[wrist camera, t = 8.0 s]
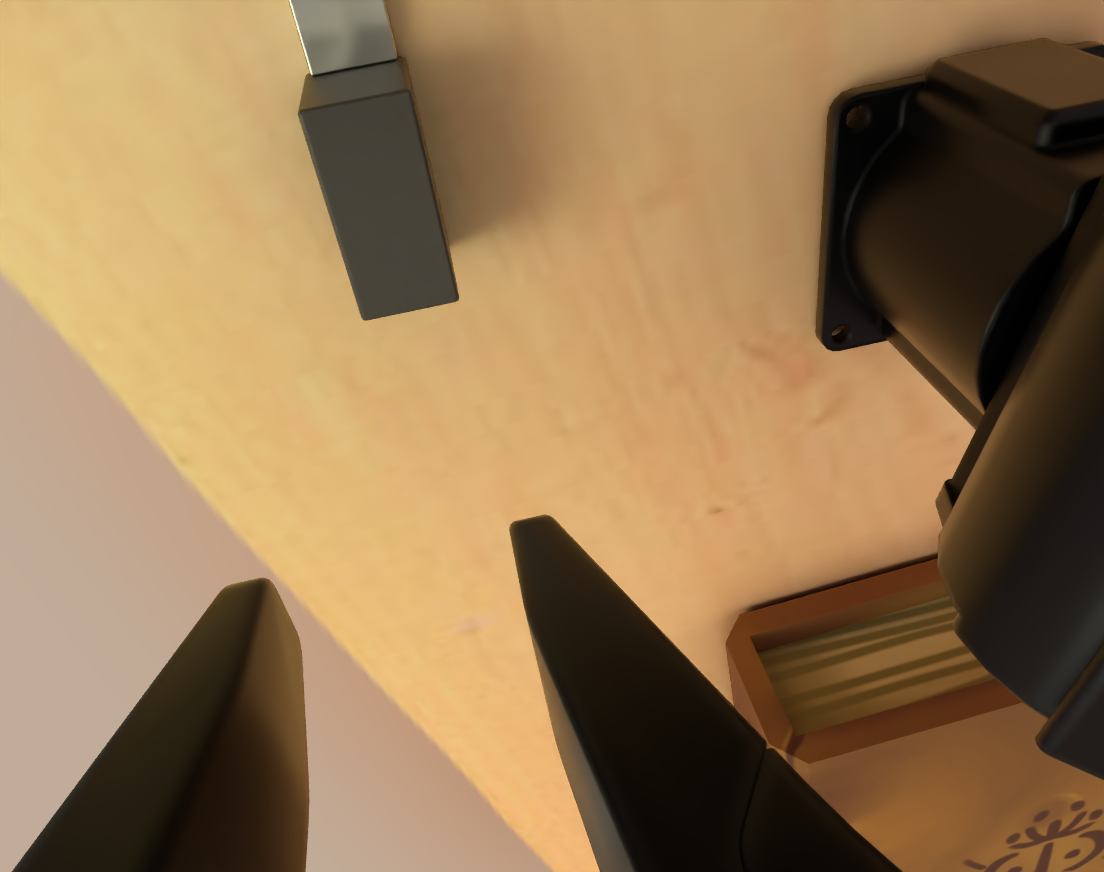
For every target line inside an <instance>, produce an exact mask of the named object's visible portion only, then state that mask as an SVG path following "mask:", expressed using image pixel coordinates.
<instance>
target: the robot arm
mask: <svg viewBox="0 0 1104 872" xmlns="http://www.w3.org/2000/svg"><path fill="white" fill-rule="evenodd" d="M856 106H860V113H859V116H858V117H857V119H856V120H855V121H854V122H852V123H850V124H847V123H846V118H847V115H848V113H849V112H850V111H851V109H852V108H854V107H856ZM840 326H843V328H842V330H841V331H840V332H839V333H838V334H836V335H832V333H833V331H834V330H835V329H836V328H837V327H840ZM816 336H817V338H818V339H819V340H820V341H821V343H822V344H823V345H824V346H825V347H826V348H827V349H828V350H831V351H841V350H846V349H850V348H855V347H860V346H864V345H869V344H873V343H878V342H882V341H887V340H888V341H889V342H890V343H891V344H892V345H893V346H894V347H895V348H896V349H897V350H898V351H899V352H900V353H901V354H902V355H903V356H904V357H905V358H906V359H907V360H908V361H909V362H910V363H911V364H912V365H913V366H914V367H915V368H916V369H917V370H918V371H919V372H920V373H921V375H922V376H923V377H924V378H925V379H926V380H927V381H928V382H929V383H930V384H931V385H932V386H933V387H934V388H935V389H936V390H937V391H938V392H939V393H940V394H941V395H942V396H943V397H944V398H945V399H946V400H947V401H948V402H949V403H950V404H951V405H952V406H953V407H954V408H955V409H956V410H957V411H958V412H959V413H960V414H961V415H962V416H963V417H964V418H965V419H966V420H967V421H968V422H969V424H970V425H971V426H972V427H973V428H974V429H975V430H976V432H975V434H974V436H973V438H972V440H971V442H970V444H969V446H968V448H967V450H966V452H965V454H964V456H963V458H962V460H961V462H960V464H959V466H958V468H957V470H956V472H955V474H954V476H953V478H952V479H948V480H946V481H945V482H944V485H943V487H942V489H941V491H940V493H939V495H938V497H937V499H936V507H937V510H938V513H939V516H940V520H941V523H942V526H943V529H942V531H941V533H940V535H939V542H938V564H937V568H938V570H939V573H940V575H941V577H942V580H943V582H944V584H945V587H946V589H947V592H948V594H949V596H950V599H951V601H952V603H953V606H954V608H955V609H956V610H957V612H958V614H957V616H956V617H955V619H954V621H953V629H954V631H955V633H956V635H957V636H958V638H959V639H960V640H961V641H962V643H963V644H964V645H965V646H966V647H967V648H968V650H969V651H970V652H971V653H972V654H973V655H974V657H975V658H976V659H977V660H978V661H979V662H980V664H981V665H982V666H983V667H984V668H985V669H986V670H987V672H988V673H989V674H990V675H992V676H993V677H994V678H995V679H996V680H997V681H998V682H1000V683H1001V684H1002V685H1003V686H1004V687H1005V688H1007V689H1008V690H1009V691H1010V692H1011V693H1012V694H1014V695H1015V696H1016V697H1017V698H1018V699H1019V700H1020V701H1022V702H1023V703H1024V704H1025V705H1027V706H1028V707H1030V708H1031V709H1033V710H1034V711H1036V712H1038V713H1039V714H1041V715H1042V716H1044V717H1045V718H1047V719H1048V720H1047V722H1046V723H1045V725H1044V726H1043V727H1042V729H1041V730H1040V731H1039V733H1038V734H1037V736H1036V738H1035V740H1036V744H1037V746H1038V747H1039V749H1040V750H1042V751H1043V752H1044V753H1045V754H1047V755H1049V756H1051V757H1053V758H1055V759H1057V760H1059V761H1062V762H1064V763H1066V764H1068V765H1071V766H1073V767H1075V768H1077V769H1080V770H1082V771H1084V772H1086V773H1089V774H1091V775H1093V776H1095V777H1098V778H1100V779H1102V780H1104V44H1102V43H1099V42H1096V41H1088V42H1083V43H1078V44H1073V45H1068V46H1067V45H1064V44H1061V43H1058V42H1055V41H1052V40H1049V39H1046V38H1040V39H1035V40H1030V41H1025V42H1020V43H1015V44H1010V45H1005V46H1000V47H995V48H990V49H985V50H980V51H975V52H970V53H965V54H960V55H955V56H950V57H945V58H940V59H938V60H937V61H936V62H935V63H933V64H932V65H931V66H930V67H929V68H928V69H927V70H926V74H924V75H919V76H914V77H909V78H904V79H899V80H894V81H889V82H884V83H879V84H874V85H869V86H864V87H859V88H854V89H850V90H848V91H845V92H843V93H841V94H840V95H839V96H838V97H837V98H836V99H835V100H834V101H833V103H832V105H831V106H830V108H829V112H828V116H827V133H826V152H825V170H824V188H823V206H822V224H821V243H820V261H819V279H818V297H817V316H816ZM509 530H510V536H511V541H512V547H513V552H514V557H515V562H516V567H517V572H518V578H519V583H520V588H521V593H522V598H523V603H524V608H525V612H526V616H527V620H528V625H529V629H530V633H531V638H532V642H533V646H534V651H535V655H536V659H537V663H538V668H539V672H540V676H541V681H542V685H543V689H544V694H545V698H546V702H547V706H548V711H549V715H550V719H551V723H552V727H553V732H554V736H555V740H556V743H557V746H558V750H559V753H560V756H561V759H562V762H563V766H564V768H565V771H566V774H567V777H568V780H569V783H570V786H571V789H572V792H573V795H574V797H575V800H576V803H577V806H578V809H579V812H580V815H581V818H582V821H583V824H584V826H585V829H586V832H587V835H588V838H589V841H590V844H591V847H592V850H593V853H594V855H595V858H596V861H597V864H598V867H599V870H600V872H903V871H901V870H900V869H899V868H898V867H897V866H896V865H895V864H894V863H892V862H891V861H890V860H889V859H888V858H887V857H886V856H884V855H883V854H882V853H881V852H880V851H879V850H878V849H876V848H875V847H874V846H873V845H872V844H871V843H870V842H869V841H867V840H866V839H865V838H864V837H863V836H862V835H861V834H859V833H858V832H857V831H856V830H855V829H854V828H853V827H852V826H851V825H850V824H849V823H848V822H847V821H846V820H845V819H844V818H843V817H842V816H841V815H840V814H839V813H838V812H837V811H836V810H835V809H833V808H832V807H831V806H830V805H829V804H828V803H827V802H826V801H825V800H824V799H823V798H822V797H821V796H820V795H819V794H818V793H817V792H816V791H815V790H814V789H813V788H812V787H811V786H810V785H809V784H808V783H807V782H806V781H805V780H804V779H803V778H802V777H801V776H800V775H799V774H798V773H797V772H796V771H795V770H794V768H793V767H792V766H791V765H790V764H789V763H788V762H787V761H786V760H785V759H784V758H783V757H782V756H781V755H780V754H779V753H778V752H777V751H776V750H775V749H774V748H771V747H770V748H767V741H766V740H765V739H764V738H763V737H762V736H761V735H760V734H759V732H758V731H757V730H756V729H755V728H754V727H753V726H752V725H751V724H750V723H749V722H748V721H747V720H746V719H745V718H744V717H743V716H742V715H741V714H740V713H739V712H738V711H737V709H736V708H735V707H734V706H733V705H732V704H731V703H730V702H729V701H728V700H727V699H726V698H725V697H724V696H723V695H722V694H721V693H720V692H719V691H718V690H717V689H716V688H715V687H714V685H713V684H712V683H711V682H710V681H709V680H708V679H707V678H706V677H705V676H704V675H703V674H702V673H701V672H700V671H699V670H698V669H697V668H696V667H695V666H694V665H693V664H692V662H691V661H690V660H689V659H688V658H687V657H686V656H685V655H684V654H683V653H682V652H681V651H680V650H679V649H678V648H677V647H676V646H675V645H674V644H673V643H672V642H671V641H670V639H669V638H668V637H667V636H666V635H665V634H664V633H663V632H662V631H661V630H660V629H659V628H658V627H657V626H656V625H655V624H654V623H653V622H652V621H651V620H650V619H649V618H648V616H647V615H646V614H645V613H644V612H643V611H642V610H641V609H640V608H639V607H638V606H637V605H636V604H635V603H634V602H633V601H632V600H631V599H630V598H629V597H628V596H627V595H626V593H625V592H624V591H623V590H622V589H621V588H620V587H619V586H618V585H617V584H616V583H615V582H614V581H613V580H612V579H611V578H610V577H609V576H608V575H607V574H606V573H605V572H604V570H603V569H602V568H601V567H600V566H599V565H598V564H597V563H596V562H595V561H594V560H593V559H592V558H591V557H590V556H589V555H588V554H587V553H586V552H585V551H584V550H583V549H582V547H581V546H580V545H579V544H578V543H577V542H576V541H575V540H574V539H573V538H572V537H571V536H570V535H569V534H568V533H567V532H566V531H565V530H564V529H563V528H562V527H561V526H560V524H559V523H558V522H557V521H556V520H555V519H554V518H552V517H551V516H549V515H541V516H536V517H532V518H527V519H523V520H518V521H515V522H513V523H512V524H511V525H510V528H509ZM306 740H307V738H306V719H305V702H304V682H303V664H302V650H301V644H300V640H299V636H298V634H297V631H296V629H295V626H294V625H293V623H292V620H291V618H290V616H289V614H288V612H287V610H286V608H285V606H284V604H283V602H282V600H281V598H280V596H279V594H278V591H277V589H276V588H275V586H274V584H273V583H272V582H271V581H270V580H269V579H266V578H258V579H253V580H249V581H245V582H240V583H236V584H231V585H229V586H227V587H225V588H224V589H223V590H222V591H221V592H220V593H219V594H218V595H217V597H216V598H215V599H214V601H213V602H212V604H211V605H210V606H209V607H208V609H207V610H206V612H205V613H204V614H203V616H202V617H201V618H200V620H199V621H198V622H197V624H196V625H195V626H194V628H193V629H192V630H191V632H190V633H189V634H188V636H187V637H186V638H185V640H184V641H183V642H182V644H181V645H180V646H179V648H178V649H177V650H176V652H175V653H174V654H173V656H172V657H171V659H170V660H169V661H168V663H167V664H166V665H165V667H164V668H163V669H162V671H161V672H160V673H159V675H158V676H157V677H156V679H155V680H154V681H153V683H152V684H151V686H150V687H149V688H148V689H147V691H146V692H145V693H144V695H143V696H142V698H141V699H140V700H139V702H138V703H137V704H136V706H135V707H134V708H133V710H132V711H131V712H130V714H129V715H128V716H127V718H126V719H125V720H124V722H123V723H122V724H121V726H120V727H119V728H118V730H117V731H116V732H115V734H114V735H113V736H112V738H111V739H110V741H109V742H108V743H107V745H106V746H105V747H104V749H103V750H102V751H101V753H100V754H99V755H98V757H97V758H96V759H95V761H94V762H93V763H92V765H91V766H90V768H89V769H88V770H87V772H86V773H85V774H84V775H83V777H82V778H81V780H80V781H79V782H78V784H77V785H76V786H75V788H74V789H73V790H72V792H71V793H70V794H69V796H68V797H67V798H66V800H65V801H64V802H63V804H62V805H61V806H60V808H59V809H58V810H57V812H56V813H55V814H54V816H53V817H52V818H51V820H50V821H49V823H48V824H47V825H46V827H45V828H44V829H43V831H42V832H41V833H40V835H39V836H38V837H37V839H36V840H35V841H34V843H33V844H32V845H31V847H30V848H29V850H28V851H27V852H26V853H25V855H24V856H23V857H22V859H21V861H20V862H19V863H18V864H17V866H16V867H15V868H14V870H13V871H12V872H305V870H306V854H307V839H308V823H309V776H308V757H307V741H306Z"/></svg>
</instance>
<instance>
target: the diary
mask: <svg viewBox="0 0 1104 872" xmlns="http://www.w3.org/2000/svg"><path fill="white" fill-rule="evenodd" d="M937 564H938V558H937V559H933V560H930V561H926V562H923V563H919V564H916V565H912V566H909V567H905V568H902V569H898V570H895V571H891V572H888V573H884V574H881V575H877V576H874V577H870V578H867V579H863V580H860V581H856V582H853V583H849V584H846V585H842V586H839V587H835V588H832V589H828V590H825V591H821V592H818V593H814V594H811V595H807V596H804V597H800V598H797V599H793V600H790V601H786V602H783V603H779V604H776V605H772V606H769V607H765V608H762V609H758V610H755V611H751V612H748V613H744V614H741V615H739V617H738V619H737V621H736V623H735V625H734V627H733V629H732V631H731V633H730V635H729V637H728V639H727V641H726V650H727V657H728V665H729V672H730V679H731V687H732V694H733V701H734V707H735V708H736V709H737V711H738V712H739V713H740V714H741V715H742V716H743V717H744V718H745V719H746V720H747V721H748V722H749V723H750V724H751V725H752V726H753V727H754V728H755V729H756V730H757V731H758V732H759V734H760V735H761V736H762V737H763V738H764V739H765V740H766V741H767V748H770V747H771V748H774V749H775V750H776V751H777V752H778V753H779V754H780V755H781V756H782V757H783V758H784V759H785V760H786V761H787V762H788V763H789V764H790V765H791V766H792V767H793V768H794V770H795V771H796V772H797V773H798V774H799V775H800V776H801V777H802V778H803V779H804V780H805V781H806V782H807V783H808V784H809V785H810V786H811V787H812V788H813V789H814V790H815V791H816V792H817V793H818V794H819V795H820V796H821V797H822V798H823V799H824V800H825V801H826V802H827V803H828V804H829V805H830V806H831V807H832V808H833V809H835V810H836V811H837V812H838V813H839V814H840V815H841V816H842V817H843V818H844V819H845V820H846V821H847V822H848V823H849V824H850V825H851V826H852V827H853V828H854V829H855V830H856V831H857V832H858V833H859V834H861V835H862V836H863V837H864V838H865V839H866V840H867V841H869V842H870V843H871V844H872V845H873V846H874V847H875V848H876V849H878V850H879V851H880V852H881V853H882V854H883V855H884V856H886V857H887V858H888V859H889V860H890V861H891V862H892V863H894V864H895V865H896V866H897V867H898V868H899V869H900V870H901V871H903V872H1104V780H1102V779H1100V778H1098V777H1095V776H1093V775H1091V774H1089V773H1086V772H1084V771H1082V770H1080V769H1077V768H1075V767H1073V766H1071V765H1068V764H1066V763H1064V762H1062V761H1059V760H1057V759H1055V758H1053V757H1051V756H1049V755H1047V754H1045V753H1044V752H1043V751H1042V750H1040V749H1039V747H1038V746H1037V744H1036V740H1035V738H1036V736H1037V734H1038V733H1039V731H1040V730H1041V729H1042V727H1043V726H1044V725H1045V723H1046V722H1047V720H1048V719H1047V718H1045V717H1044V716H1042V715H1041V714H1039V713H1038V712H1036V711H1034V710H1033V709H1031V708H1030V707H1028V706H1027V705H1025V704H1024V703H1023V702H1022V701H1020V700H1019V699H1018V698H1017V697H1016V696H1015V695H1014V694H1012V693H1011V692H1010V691H1009V690H1008V689H1007V688H1005V687H1004V686H1003V685H1002V684H1001V683H1000V682H998V681H997V680H996V679H995V678H994V677H993V676H992V675H990V674H989V673H988V672H987V670H986V669H985V668H984V667H983V666H982V665H981V664H980V662H979V661H978V660H977V659H976V658H975V657H974V655H973V654H972V653H971V652H970V651H969V650H968V648H967V647H966V646H965V645H964V644H963V643H962V641H961V640H960V639H959V638H958V636H957V635H956V633H955V631H954V629H953V621H954V619H955V617H956V616H957V614H958V612H957V610H956V609H955V608H954V606H953V603H952V601H951V599H950V596H949V594H948V592H947V589H946V587H945V584H944V582H943V580H942V577H941V575H940V573H939V570H938V568H937Z"/></svg>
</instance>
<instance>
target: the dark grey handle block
mask: <svg viewBox="0 0 1104 872" xmlns="http://www.w3.org/2000/svg"><path fill="white" fill-rule="evenodd" d="M289 4H290V7H291V10H292V14H293V17H294V20H295V24H296V27H297V31H298V34H299V37H300V41H301V44H302V47H303V51H304V54H305V58H306V61H307V64H308V68H309V71H310V74H308V75H306V77H305V82H304V87H303V92H302V96H301V101H300V106H299V111H298V116H299V119H300V123H301V126H302V129H303V132H304V135H305V139H306V142H307V145H308V148H309V151H310V155H311V158H312V161H313V164H314V167H315V170H316V174H317V177H318V180H319V183H320V186H321V190H322V193H323V196H324V199H325V202H326V206H327V209H328V212H329V215H330V218H331V222H332V225H333V228H334V231H335V234H336V238H337V241H338V244H339V247H340V250H341V253H342V257H343V260H344V263H345V266H346V269H347V273H348V276H349V279H350V282H351V285H352V289H353V292H354V295H355V298H356V301H357V305H358V308H359V311H360V314H361V317H362V319H363V320H366V321H367V320H371V319H376V318H381V317H386V316H390V315H395V314H400V313H405V312H409V311H414V310H419V309H424V308H429V307H433V306H438V305H443V304H448V303H452V302H456V301H458V300H459V294H458V289H457V283H456V278H455V273H454V268H453V263H452V258H451V253H450V248H449V243H448V239H447V235H446V230H445V226H444V222H443V217H442V213H441V208H440V204H439V200H438V195H437V191H436V187H435V182H434V178H433V174H432V169H431V165H430V160H429V156H428V152H427V147H426V143H425V139H424V134H423V130H422V125H421V121H420V117H419V112H418V108H417V104H416V99H415V95H414V91H413V86H412V82H411V77H410V73H409V69H408V64H407V60H406V58H405V57H403V56H399V57H398V56H397V51H396V46H395V42H394V38H393V34H392V29H391V25H390V21H389V17H388V12H387V8H386V4H385V0H289Z"/></svg>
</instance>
